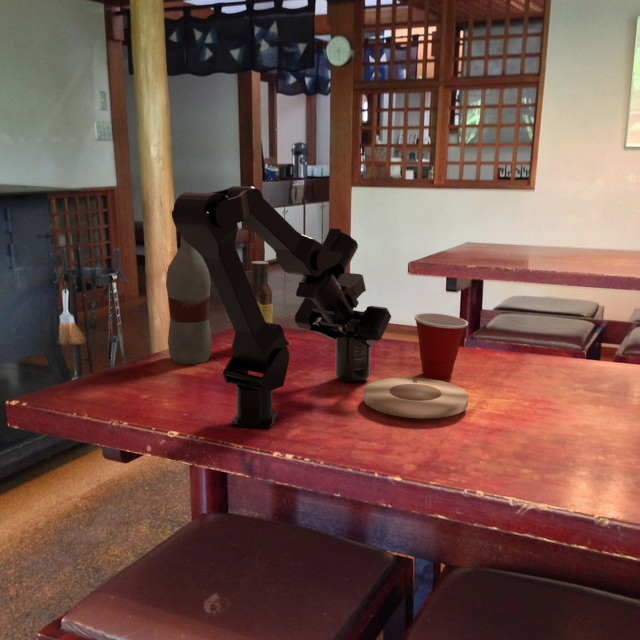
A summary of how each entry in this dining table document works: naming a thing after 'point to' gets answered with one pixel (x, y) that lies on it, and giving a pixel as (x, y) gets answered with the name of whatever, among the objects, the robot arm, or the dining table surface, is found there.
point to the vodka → (188, 307)
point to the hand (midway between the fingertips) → (356, 342)
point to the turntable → (415, 397)
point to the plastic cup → (439, 343)
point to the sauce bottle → (262, 288)
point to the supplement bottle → (351, 355)
